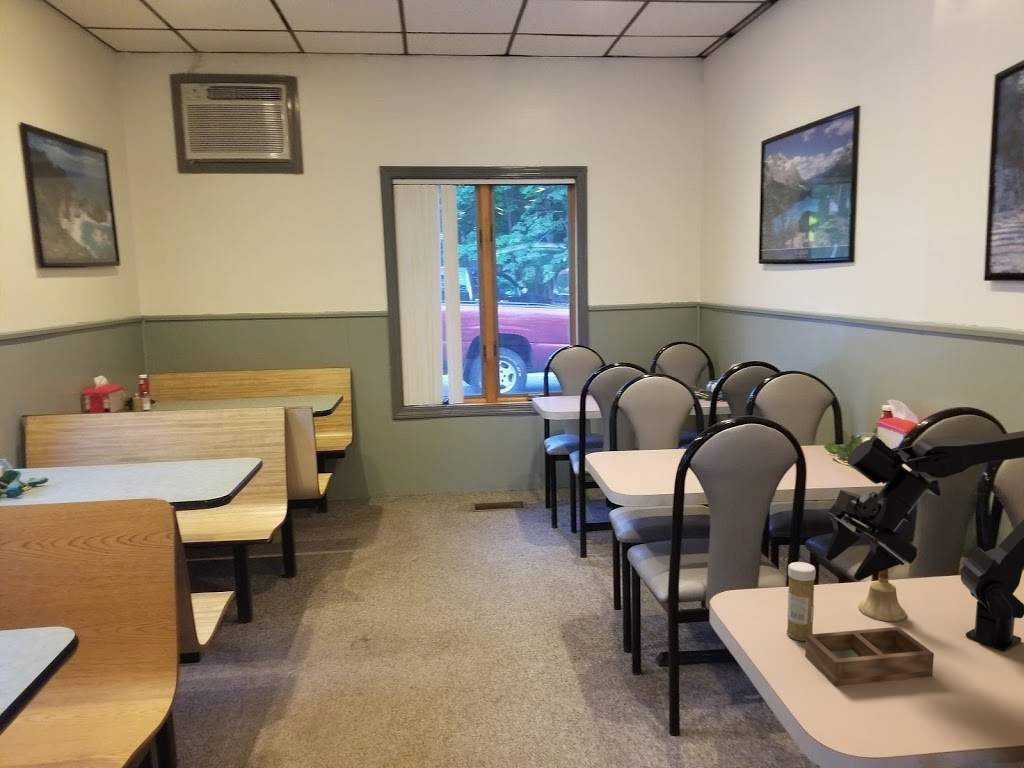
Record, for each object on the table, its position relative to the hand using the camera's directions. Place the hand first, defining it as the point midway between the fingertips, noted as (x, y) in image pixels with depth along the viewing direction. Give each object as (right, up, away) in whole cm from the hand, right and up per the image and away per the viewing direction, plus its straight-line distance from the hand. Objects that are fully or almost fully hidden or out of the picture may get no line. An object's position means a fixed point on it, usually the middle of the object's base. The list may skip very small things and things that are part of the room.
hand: (841, 569), depth 127 cm
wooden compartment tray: (+1, -15, -7) cm, 16 cm away
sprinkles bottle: (-6, -13, +4) cm, 15 cm away
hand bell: (+13, -12, +12) cm, 21 cm away
